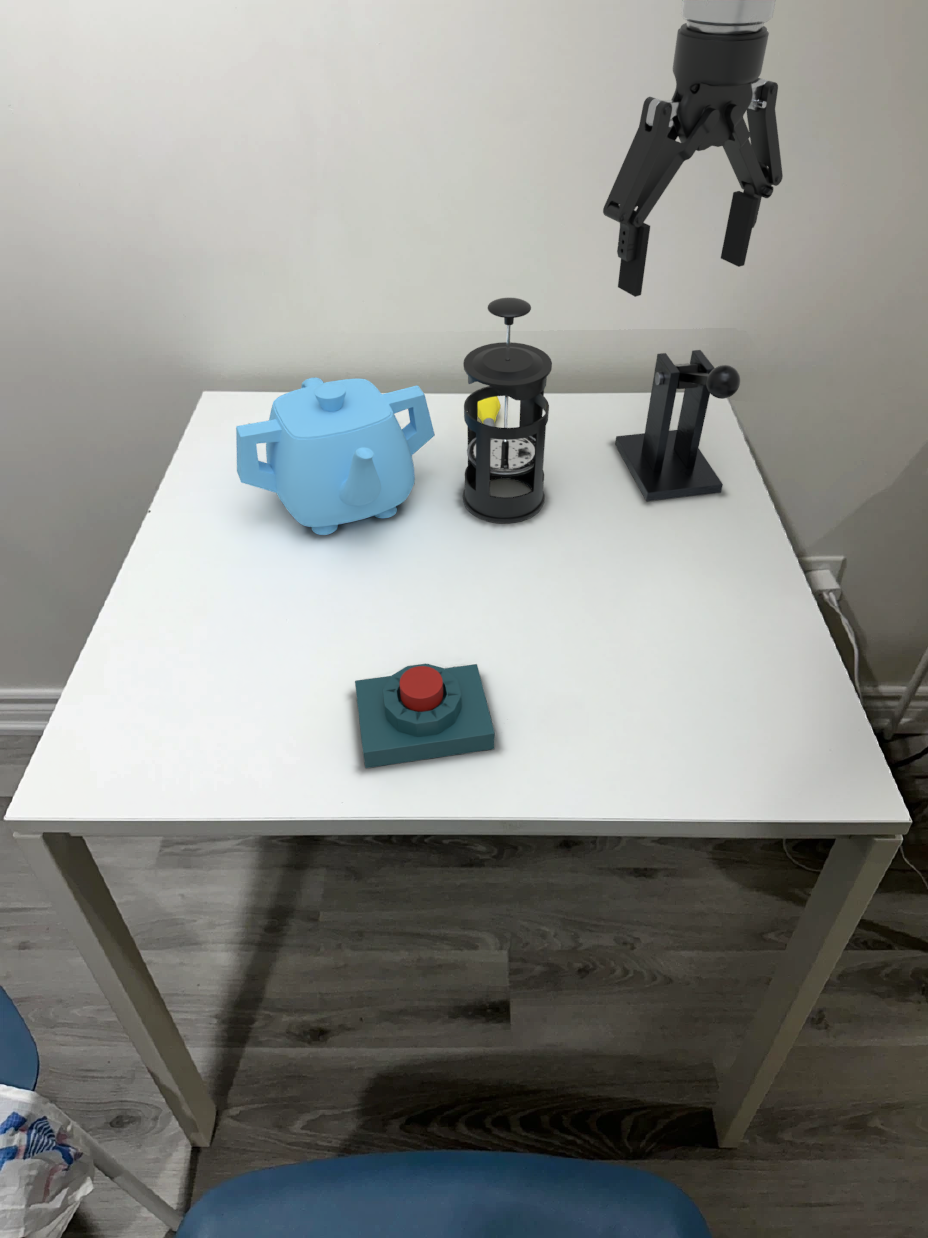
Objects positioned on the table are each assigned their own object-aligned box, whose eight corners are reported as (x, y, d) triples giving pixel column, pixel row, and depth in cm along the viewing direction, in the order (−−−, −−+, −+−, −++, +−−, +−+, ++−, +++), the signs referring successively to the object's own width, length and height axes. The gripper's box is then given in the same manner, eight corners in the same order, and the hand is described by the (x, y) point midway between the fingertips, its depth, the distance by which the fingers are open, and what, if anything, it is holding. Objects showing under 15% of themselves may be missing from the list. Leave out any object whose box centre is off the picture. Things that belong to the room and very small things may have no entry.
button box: (494, 749, 72) (495, 719, 70) (365, 768, 71) (360, 739, 68) (476, 679, 78) (477, 649, 75) (357, 696, 77) (352, 666, 74)
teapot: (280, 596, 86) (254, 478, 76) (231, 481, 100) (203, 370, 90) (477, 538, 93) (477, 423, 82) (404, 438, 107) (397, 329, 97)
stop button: (446, 708, 71) (445, 695, 70) (403, 714, 70) (402, 701, 69) (439, 676, 73) (439, 663, 72) (398, 682, 73) (397, 668, 72)
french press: (513, 537, 93) (521, 337, 76) (443, 508, 96) (436, 312, 80) (567, 484, 99) (584, 291, 83) (499, 459, 103) (504, 270, 87)
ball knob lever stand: (721, 492, 98) (748, 384, 88) (646, 501, 97) (665, 393, 87) (684, 436, 106) (704, 332, 97) (614, 444, 105) (628, 339, 96)
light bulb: (493, 407, 112) (502, 388, 109) (497, 442, 109) (507, 423, 106) (468, 402, 111) (478, 383, 108) (472, 438, 108) (481, 419, 105)
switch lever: (745, 398, 83) (746, 364, 82) (714, 401, 83) (715, 367, 82) (691, 388, 95) (692, 359, 94) (664, 391, 95) (664, 361, 94)
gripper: (797, 2, 78) (746, 239, 93) (577, 33, 69) (559, 290, 84) (862, 14, 73) (798, 262, 88) (636, 49, 65) (606, 319, 79)
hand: (682, 276), depth 86 cm, fingers open, 13 cm apart
